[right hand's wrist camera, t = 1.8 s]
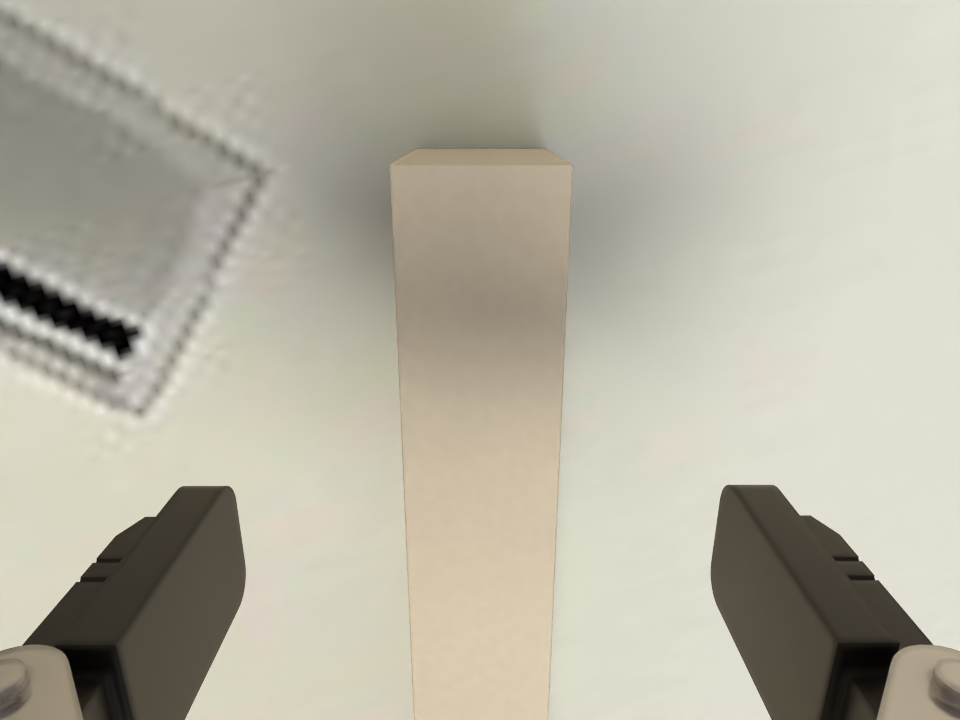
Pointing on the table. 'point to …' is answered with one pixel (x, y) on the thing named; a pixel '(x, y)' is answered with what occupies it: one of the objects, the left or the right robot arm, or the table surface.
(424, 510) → the bar
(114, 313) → the table surface
